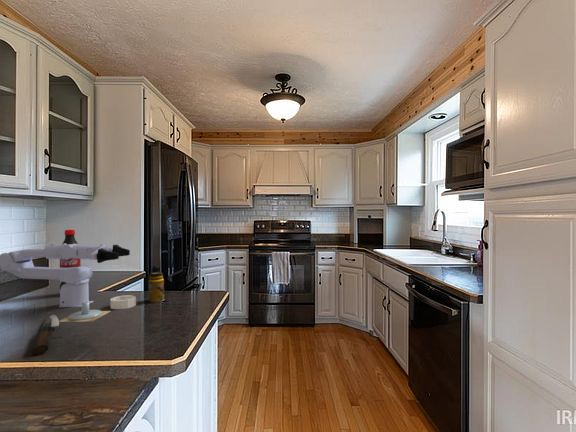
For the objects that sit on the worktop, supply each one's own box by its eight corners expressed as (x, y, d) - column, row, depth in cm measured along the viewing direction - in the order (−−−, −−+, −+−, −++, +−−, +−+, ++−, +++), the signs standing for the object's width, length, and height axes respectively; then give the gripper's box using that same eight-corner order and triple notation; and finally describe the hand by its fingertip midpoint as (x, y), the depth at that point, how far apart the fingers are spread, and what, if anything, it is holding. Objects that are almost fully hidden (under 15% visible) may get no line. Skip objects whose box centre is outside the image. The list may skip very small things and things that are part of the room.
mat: (57, 322, 113) (57, 321, 113) (79, 312, 125) (79, 311, 125) (92, 322, 113) (92, 321, 113) (111, 312, 125) (111, 311, 125)
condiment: (166, 301, 139) (166, 273, 139) (145, 305, 135) (144, 275, 135) (162, 298, 146) (162, 270, 145) (141, 301, 141) (141, 272, 141)
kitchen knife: (55, 341, 89) (31, 347, 87) (56, 349, 90) (33, 355, 87) (60, 309, 120) (43, 313, 117) (61, 315, 120) (44, 319, 117)
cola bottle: (55, 295, 152) (54, 229, 152) (73, 291, 160) (72, 229, 160) (67, 296, 149) (66, 230, 149) (85, 292, 157) (84, 229, 157)
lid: (62, 320, 114) (62, 306, 114) (80, 311, 124) (80, 299, 124) (91, 320, 114) (90, 306, 114) (107, 311, 124) (107, 299, 124)
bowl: (105, 310, 128) (105, 301, 128) (118, 303, 137) (118, 295, 137) (129, 310, 128) (128, 300, 128) (139, 303, 137) (139, 295, 137)
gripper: (79, 245, 127) (112, 247, 126) (103, 240, 142) (133, 241, 141) (79, 263, 128) (112, 265, 127) (103, 256, 142) (133, 258, 141)
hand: (123, 254), depth 134 cm, fingers open, 7 cm apart
